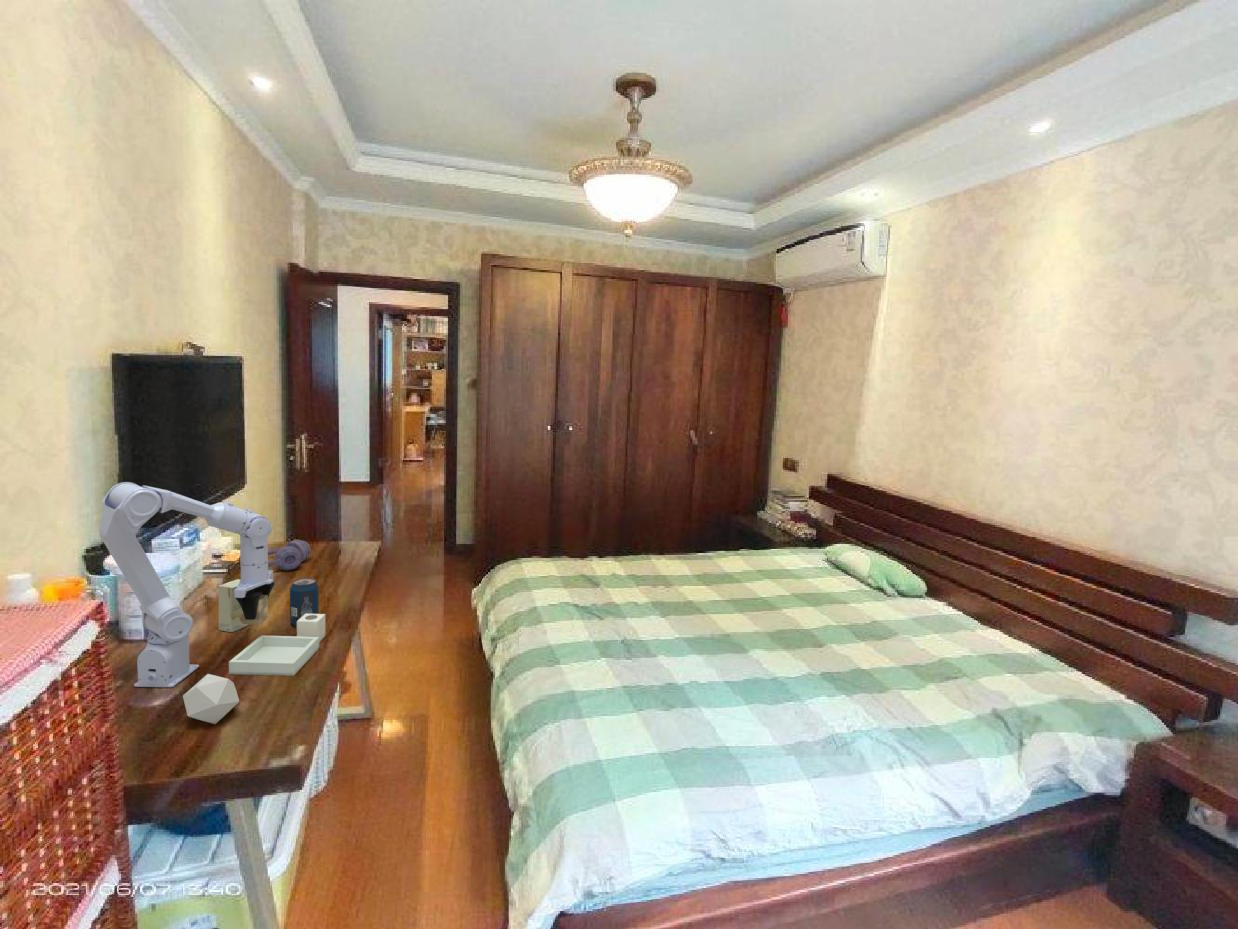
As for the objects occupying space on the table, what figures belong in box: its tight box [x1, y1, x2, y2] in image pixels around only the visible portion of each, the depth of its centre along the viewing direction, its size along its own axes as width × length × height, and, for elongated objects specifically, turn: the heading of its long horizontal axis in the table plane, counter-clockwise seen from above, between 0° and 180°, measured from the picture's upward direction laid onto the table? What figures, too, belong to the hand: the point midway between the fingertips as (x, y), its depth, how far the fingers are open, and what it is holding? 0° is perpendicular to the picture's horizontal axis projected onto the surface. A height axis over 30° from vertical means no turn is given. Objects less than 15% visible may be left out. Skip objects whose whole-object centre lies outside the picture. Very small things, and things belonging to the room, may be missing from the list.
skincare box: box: [218, 578, 250, 633], centre depth 157 cm, size 6×4×12 cm
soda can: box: [289, 577, 320, 628], centre depth 162 cm, size 7×7×12 cm
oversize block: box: [296, 613, 326, 643], centre depth 153 cm, size 5×5×6 cm
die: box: [182, 673, 240, 725], centre depth 117 cm, size 8×9×10 cm
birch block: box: [242, 595, 269, 625], centre depth 146 cm, size 4×4×6 cm
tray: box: [228, 634, 320, 677], centre depth 141 cm, size 14×14×3 cm
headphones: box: [268, 539, 312, 572], centre depth 206 cm, size 18×8×20 cm
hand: (255, 615), depth 146 cm, fingers closed on birch block, 4 cm apart
